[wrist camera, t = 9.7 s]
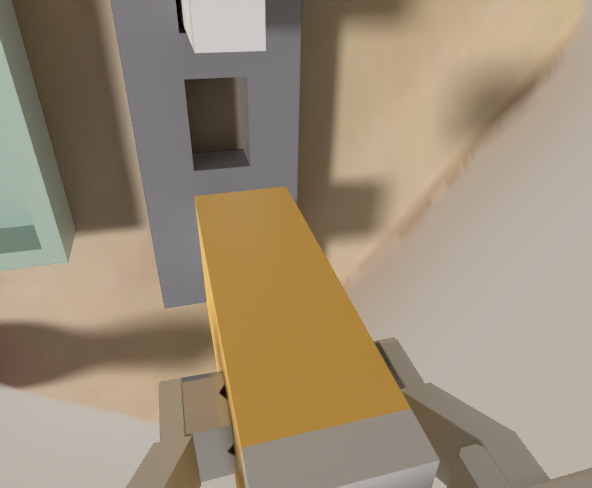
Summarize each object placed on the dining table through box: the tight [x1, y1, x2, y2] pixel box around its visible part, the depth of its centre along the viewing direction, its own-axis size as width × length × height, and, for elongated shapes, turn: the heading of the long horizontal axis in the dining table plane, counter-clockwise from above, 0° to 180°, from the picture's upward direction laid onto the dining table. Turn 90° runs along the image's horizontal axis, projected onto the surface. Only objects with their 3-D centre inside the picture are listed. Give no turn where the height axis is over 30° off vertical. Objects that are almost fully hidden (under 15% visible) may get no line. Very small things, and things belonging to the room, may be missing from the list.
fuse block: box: [110, 0, 302, 308], centre depth 29 cm, size 27×10×3 cm, turn 179°
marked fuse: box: [194, 186, 440, 488], centre depth 12 cm, size 5×3×10 cm, turn 179°
